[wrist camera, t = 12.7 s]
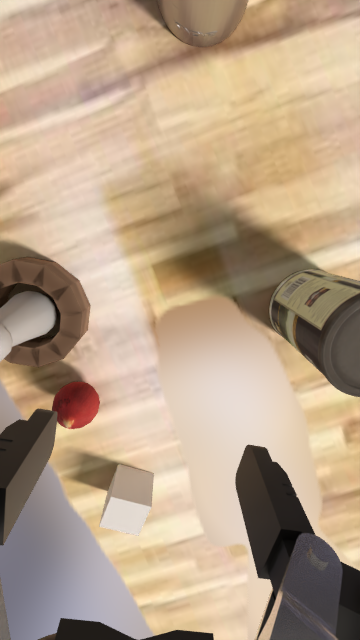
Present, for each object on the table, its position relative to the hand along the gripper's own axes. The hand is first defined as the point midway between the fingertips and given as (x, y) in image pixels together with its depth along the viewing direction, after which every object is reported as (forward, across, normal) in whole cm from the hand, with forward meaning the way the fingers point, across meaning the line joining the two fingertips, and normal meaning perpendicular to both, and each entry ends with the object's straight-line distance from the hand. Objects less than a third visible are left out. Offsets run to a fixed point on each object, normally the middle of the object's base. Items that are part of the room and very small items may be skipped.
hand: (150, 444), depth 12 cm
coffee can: (+27, -19, -3) cm, 33 cm away
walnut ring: (+27, +16, +5) cm, 31 cm away
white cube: (+27, -1, +32) cm, 42 cm away
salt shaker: (+27, +16, +5) cm, 32 cm away
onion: (+27, +8, +16) cm, 32 cm away
